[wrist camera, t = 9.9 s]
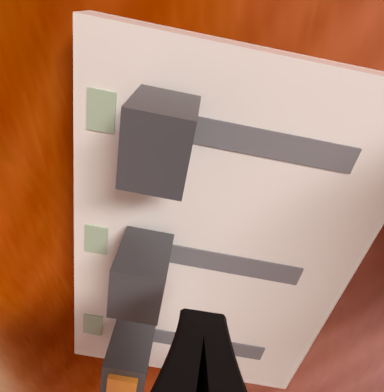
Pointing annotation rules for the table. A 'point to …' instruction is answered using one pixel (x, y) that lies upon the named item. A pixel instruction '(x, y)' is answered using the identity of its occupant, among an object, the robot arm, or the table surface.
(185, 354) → the robot arm
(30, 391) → the table surface
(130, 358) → the block
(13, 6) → the table surface
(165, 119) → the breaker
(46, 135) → the table surface
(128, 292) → the middle breaker
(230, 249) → the breaker panel
